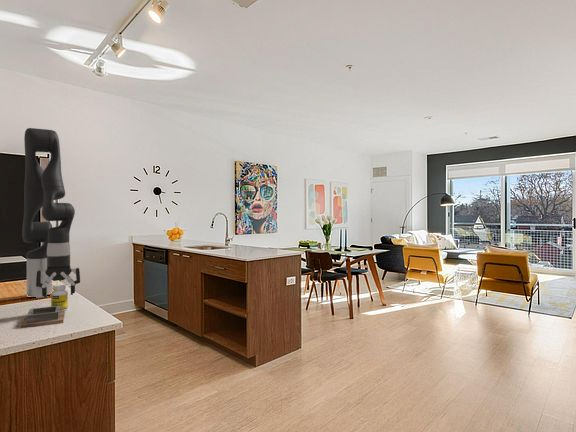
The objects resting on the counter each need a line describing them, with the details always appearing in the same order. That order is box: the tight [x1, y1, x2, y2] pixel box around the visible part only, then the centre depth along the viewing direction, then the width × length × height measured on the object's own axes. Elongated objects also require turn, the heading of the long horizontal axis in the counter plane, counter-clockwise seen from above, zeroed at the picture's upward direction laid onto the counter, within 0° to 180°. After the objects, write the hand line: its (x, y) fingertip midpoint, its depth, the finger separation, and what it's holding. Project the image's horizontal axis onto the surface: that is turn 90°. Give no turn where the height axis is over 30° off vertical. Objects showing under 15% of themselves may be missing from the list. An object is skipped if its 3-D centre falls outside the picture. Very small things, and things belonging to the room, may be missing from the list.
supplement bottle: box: [50, 284, 69, 312], centre depth 135 cm, size 5×5×10 cm
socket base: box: [19, 306, 66, 329], centre depth 124 cm, size 12×12×4 cm
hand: (58, 295), depth 135 cm, fingers open, 8 cm apart
